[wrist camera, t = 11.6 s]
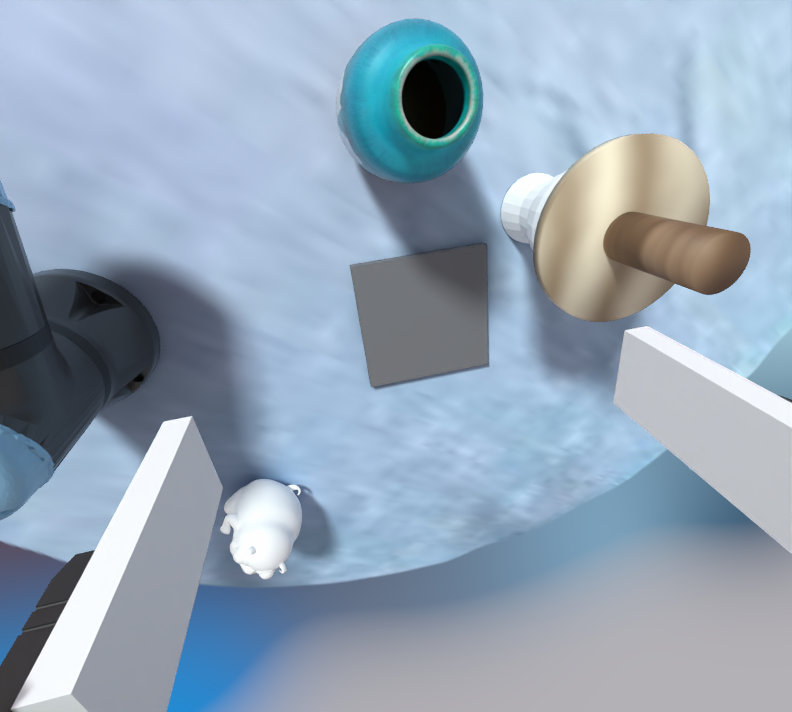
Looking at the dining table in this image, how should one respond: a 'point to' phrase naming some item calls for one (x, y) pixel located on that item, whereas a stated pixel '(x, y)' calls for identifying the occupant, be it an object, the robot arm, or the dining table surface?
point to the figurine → (263, 525)
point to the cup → (526, 205)
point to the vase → (410, 101)
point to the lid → (632, 230)
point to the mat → (423, 313)
